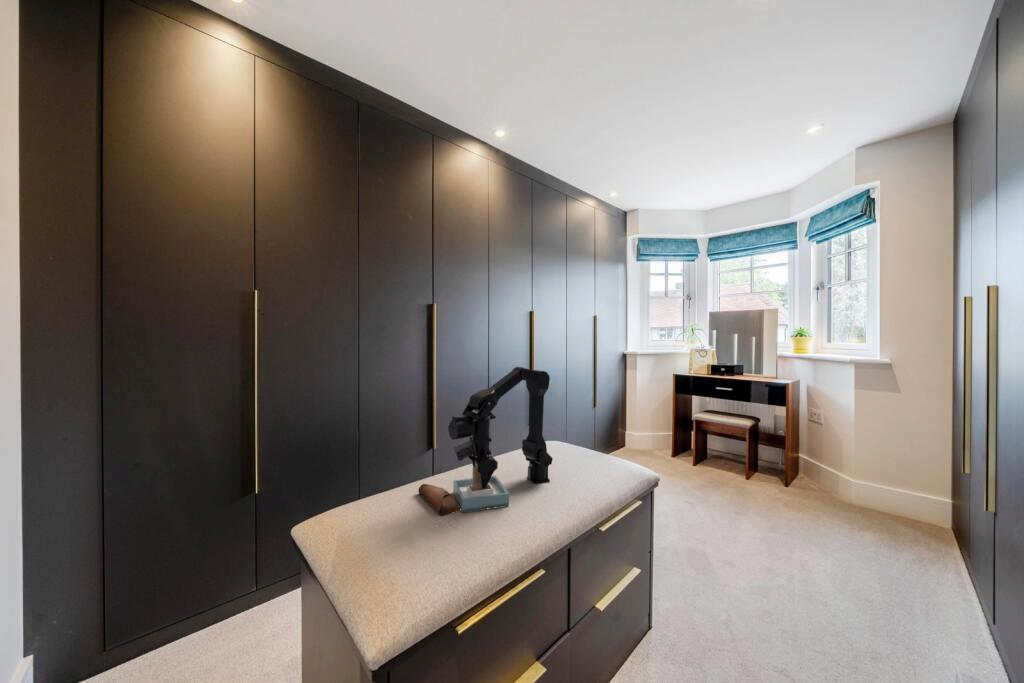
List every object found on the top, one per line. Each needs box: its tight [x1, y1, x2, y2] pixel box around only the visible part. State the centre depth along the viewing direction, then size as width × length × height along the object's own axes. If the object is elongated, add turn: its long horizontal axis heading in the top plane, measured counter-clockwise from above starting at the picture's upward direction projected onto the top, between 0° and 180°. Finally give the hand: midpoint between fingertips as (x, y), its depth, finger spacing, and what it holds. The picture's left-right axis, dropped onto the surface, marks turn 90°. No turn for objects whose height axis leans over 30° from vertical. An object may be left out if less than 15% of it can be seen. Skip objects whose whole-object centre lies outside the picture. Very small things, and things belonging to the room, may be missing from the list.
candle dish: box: [452, 475, 510, 514], centre depth 121 cm, size 15×15×4 cm
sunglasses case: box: [417, 483, 461, 517], centre depth 119 cm, size 18×7×7 cm
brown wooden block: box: [472, 466, 488, 491], centre depth 121 cm, size 4×2×8 cm, turn 109°
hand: (480, 482), depth 121 cm, fingers open, 9 cm apart
